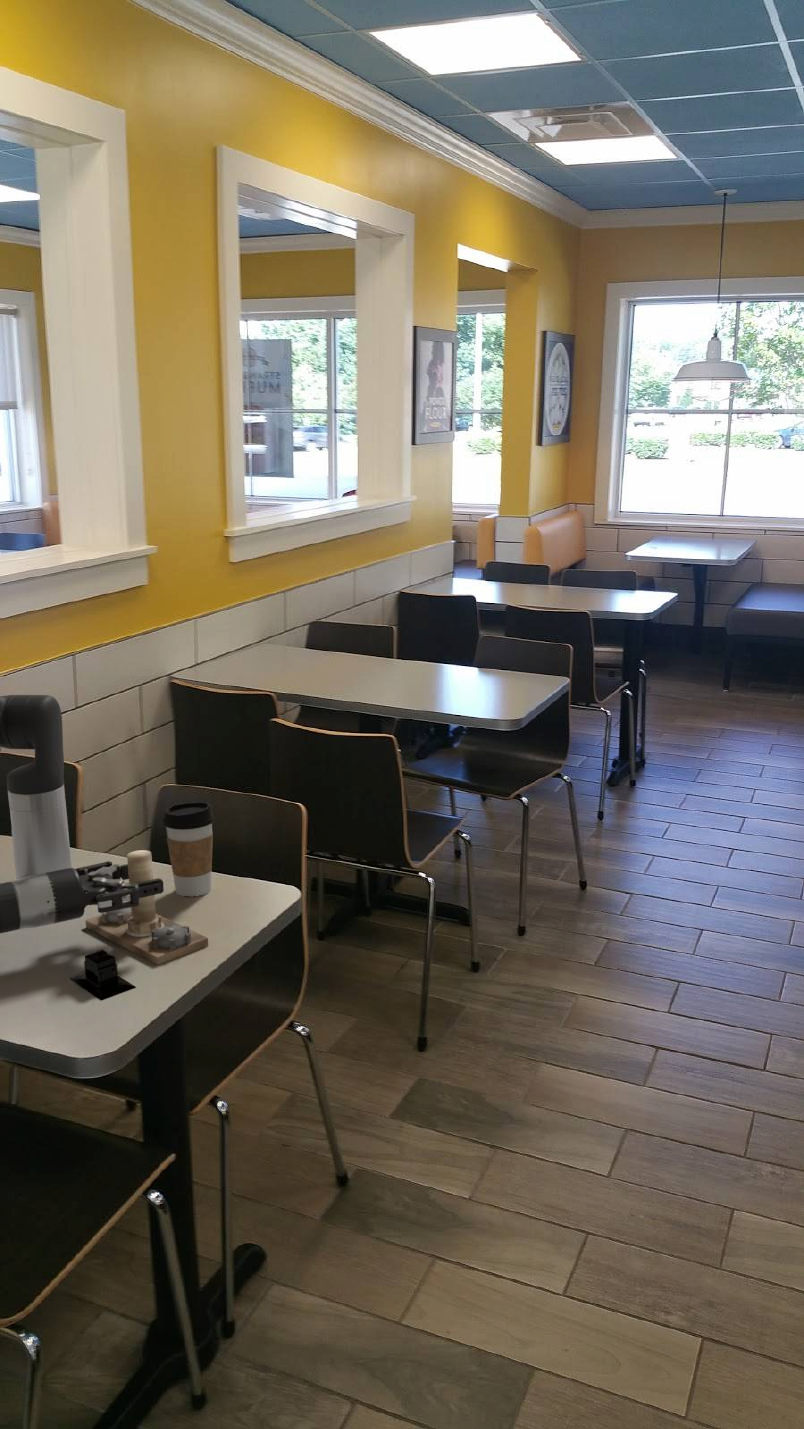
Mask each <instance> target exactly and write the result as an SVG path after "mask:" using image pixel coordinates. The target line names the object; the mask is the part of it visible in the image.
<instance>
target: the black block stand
mask: <svg viewBox="0 0 804 1429" xmlns="http://www.w3.org/2000/svg"><path fill="white" fill-rule="evenodd" d="M116 960H117V959H116V956H114V955H112V954H110V953H108V952H107V951H105V950H104V949H101V950H98V951H96V952H92V953H90V954H86V955H84V961H83V964H84V973H81V974H77V975H74V976H72V977H69V978H68V980H70V981H71V982H73V984H76V985H77V986H79V987H80V988H81V989H83V990H85V992H87V993H89V994H90V995H91V996H93V997H94V998H96V999H98V1000H99V1001H100V1002H101V1001H104V1000H107V999H110V998H113V997H116V996H117V995H120V994H121V995H122V994H123V993H126V992H130V991H131V990H134V989H137V986H136V985H134V984H133V983H131V982H129V981H127V980H126V979H124V978H123V977H121V976H120V975H119V972H118V964H117V962H116Z"/></svg>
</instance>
